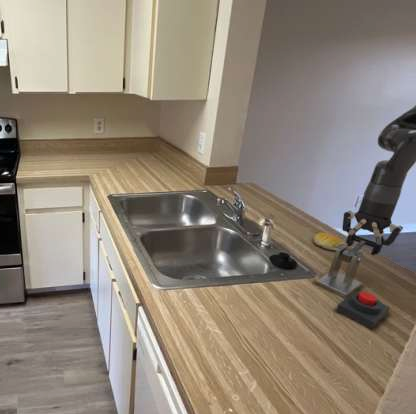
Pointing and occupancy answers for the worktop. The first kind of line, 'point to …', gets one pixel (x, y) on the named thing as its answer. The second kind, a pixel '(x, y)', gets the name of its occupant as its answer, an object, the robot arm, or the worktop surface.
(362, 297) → the button
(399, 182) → the robot arm
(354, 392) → the worktop surface
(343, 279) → the lever bracket
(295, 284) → the worktop surface
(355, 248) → the press lever
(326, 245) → the bread roll
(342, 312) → the button block
